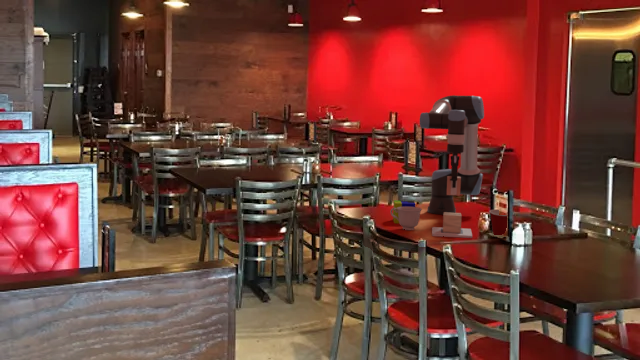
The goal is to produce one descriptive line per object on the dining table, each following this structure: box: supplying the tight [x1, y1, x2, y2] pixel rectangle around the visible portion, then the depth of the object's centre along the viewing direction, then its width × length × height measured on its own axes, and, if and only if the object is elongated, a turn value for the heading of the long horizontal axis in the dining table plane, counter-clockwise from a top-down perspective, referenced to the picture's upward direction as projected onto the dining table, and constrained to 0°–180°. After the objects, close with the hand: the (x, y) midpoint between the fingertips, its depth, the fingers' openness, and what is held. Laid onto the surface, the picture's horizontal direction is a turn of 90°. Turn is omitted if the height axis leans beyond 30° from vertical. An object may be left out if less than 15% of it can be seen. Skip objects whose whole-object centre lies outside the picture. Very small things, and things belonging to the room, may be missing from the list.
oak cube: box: [442, 212, 462, 233], centre depth 376 cm, size 8×8×8 cm
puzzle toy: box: [392, 200, 416, 224], centre depth 405 cm, size 10×10×10 cm
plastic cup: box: [488, 209, 514, 235], centre depth 369 cm, size 11×11×12 cm
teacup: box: [390, 206, 423, 231], centre depth 385 cm, size 12×15×10 cm
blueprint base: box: [431, 226, 473, 239], centre depth 377 cm, size 18×18×1 cm
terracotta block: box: [447, 176, 461, 197], centre depth 374 cm, size 6×6×8 cm
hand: (453, 193), depth 374 cm, fingers closed on terracotta block, 6 cm apart
